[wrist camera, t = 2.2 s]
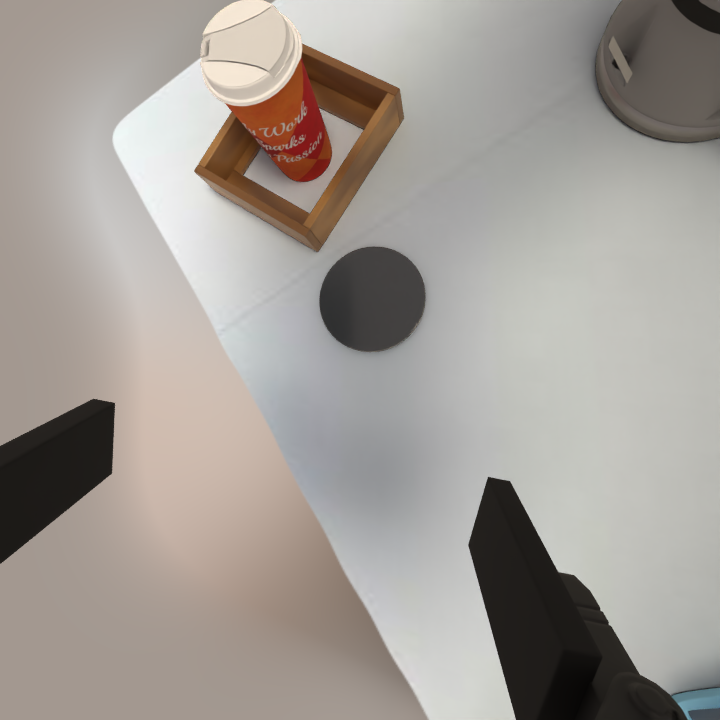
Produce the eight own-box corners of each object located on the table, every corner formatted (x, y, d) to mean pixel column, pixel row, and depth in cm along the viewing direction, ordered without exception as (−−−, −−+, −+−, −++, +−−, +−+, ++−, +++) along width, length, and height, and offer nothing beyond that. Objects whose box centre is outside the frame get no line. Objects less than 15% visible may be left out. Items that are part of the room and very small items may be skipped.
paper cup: (267, 194, 44) (187, 98, 31) (272, 124, 45) (196, 0, 32) (342, 189, 43) (292, 86, 29) (345, 116, 44) (298, -17, 30)
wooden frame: (295, 65, 46) (281, 33, 42) (404, 117, 42) (400, 88, 39) (215, 191, 46) (193, 171, 42) (318, 252, 43) (304, 236, 39)
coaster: (357, 230, 42) (356, 228, 42) (446, 280, 40) (446, 279, 39) (301, 317, 42) (299, 316, 42) (387, 372, 40) (386, 372, 39)
